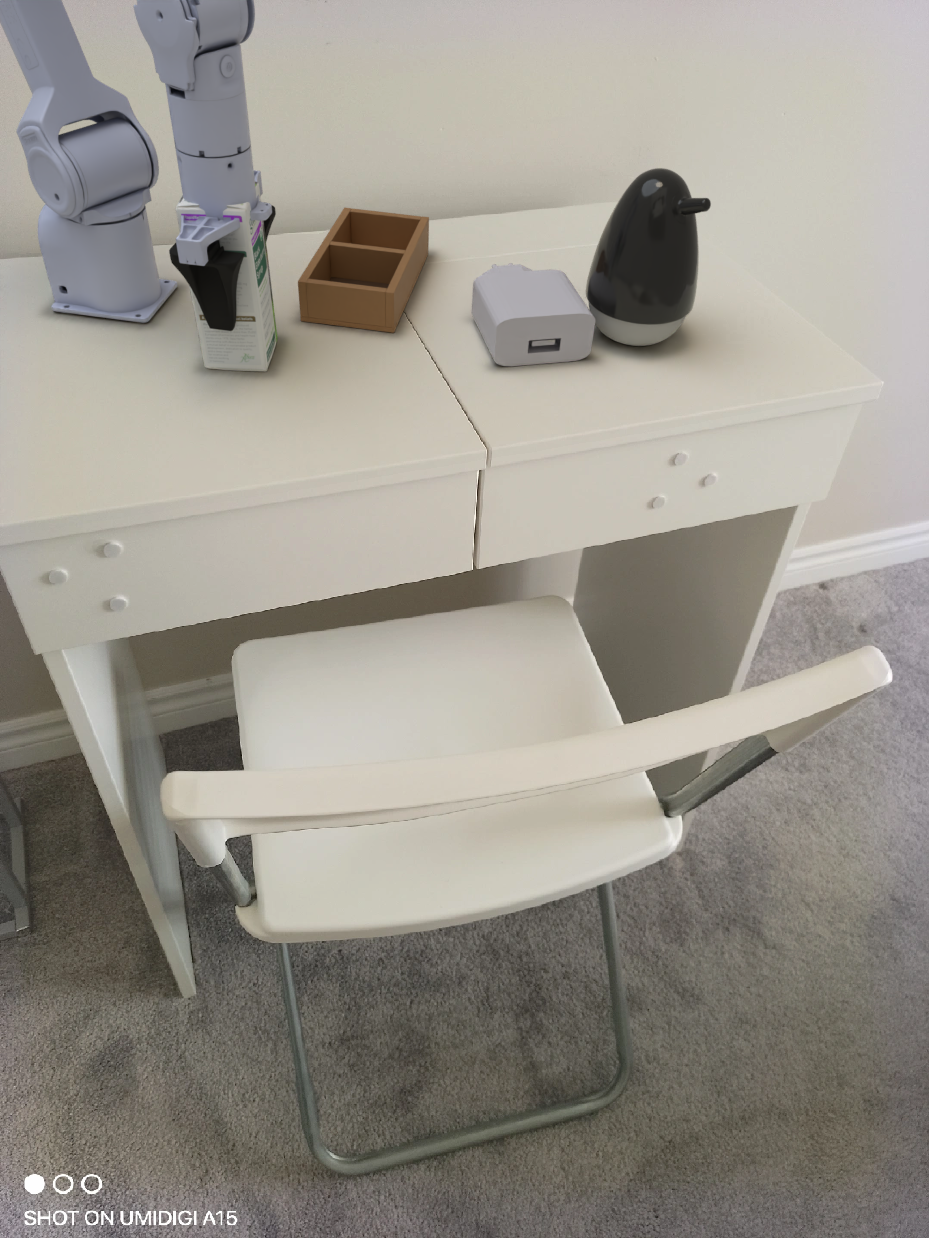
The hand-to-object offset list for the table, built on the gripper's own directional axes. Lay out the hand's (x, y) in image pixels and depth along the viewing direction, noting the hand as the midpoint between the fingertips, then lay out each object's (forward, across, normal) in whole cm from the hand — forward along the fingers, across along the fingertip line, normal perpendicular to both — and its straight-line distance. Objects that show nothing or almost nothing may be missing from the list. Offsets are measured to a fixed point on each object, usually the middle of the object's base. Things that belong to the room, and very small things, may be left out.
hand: (234, 309), depth 83 cm
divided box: (+4, +16, -8) cm, 18 cm away
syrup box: (+5, 0, 0) cm, 5 cm away
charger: (+5, +12, -24) cm, 27 cm away
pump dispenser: (+5, +13, -35) cm, 38 cm away
